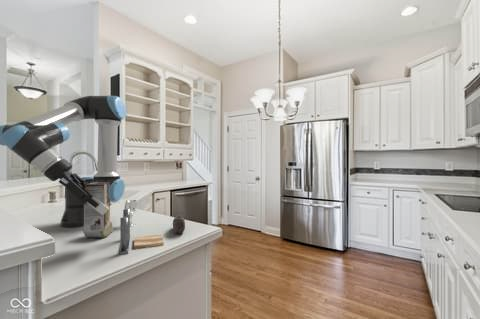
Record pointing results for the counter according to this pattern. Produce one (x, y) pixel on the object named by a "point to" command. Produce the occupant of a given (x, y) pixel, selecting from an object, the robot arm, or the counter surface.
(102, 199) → the coffee box
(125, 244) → the metal drawer handle
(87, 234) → the ceramic mug
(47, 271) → the counter surface
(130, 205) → the wineglass
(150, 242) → the oak trivet
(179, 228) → the perforated stone tool
